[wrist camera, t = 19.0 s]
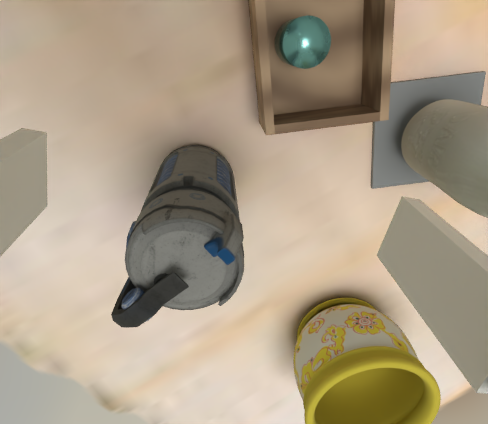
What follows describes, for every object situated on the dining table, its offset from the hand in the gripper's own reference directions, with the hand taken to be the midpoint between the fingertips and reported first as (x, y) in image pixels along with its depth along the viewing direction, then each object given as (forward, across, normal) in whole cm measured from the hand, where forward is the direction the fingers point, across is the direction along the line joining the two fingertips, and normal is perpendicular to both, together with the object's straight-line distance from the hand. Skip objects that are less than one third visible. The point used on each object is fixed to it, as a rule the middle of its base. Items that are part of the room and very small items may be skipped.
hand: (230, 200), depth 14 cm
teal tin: (+35, +8, +6) cm, 36 cm away
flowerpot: (+35, +27, -35) cm, 56 cm away
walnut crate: (+36, +10, +8) cm, 38 cm away
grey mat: (+35, +28, -1) cm, 45 cm away
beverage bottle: (+36, -1, -14) cm, 38 cm away
